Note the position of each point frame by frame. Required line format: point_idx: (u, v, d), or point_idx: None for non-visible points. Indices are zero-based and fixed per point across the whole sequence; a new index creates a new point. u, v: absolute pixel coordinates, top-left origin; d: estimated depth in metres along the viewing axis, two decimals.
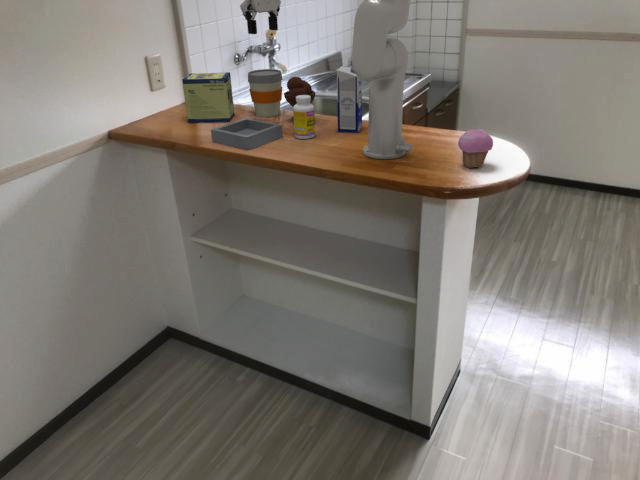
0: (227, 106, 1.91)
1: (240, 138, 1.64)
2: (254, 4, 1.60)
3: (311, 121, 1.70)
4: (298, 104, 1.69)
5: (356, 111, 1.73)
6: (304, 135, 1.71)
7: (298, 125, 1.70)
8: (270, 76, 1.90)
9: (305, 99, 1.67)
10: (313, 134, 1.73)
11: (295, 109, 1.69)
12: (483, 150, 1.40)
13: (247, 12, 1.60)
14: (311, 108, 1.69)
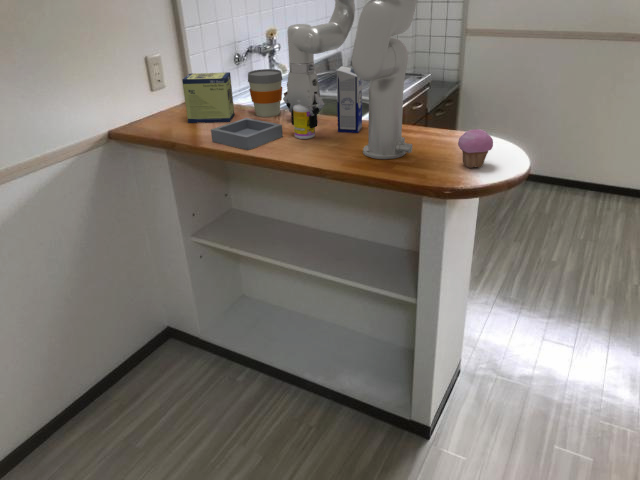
0: (227, 106, 1.91)
1: (240, 138, 1.64)
2: (319, 97, 1.67)
3: None
4: (298, 104, 1.69)
5: (356, 111, 1.73)
6: (304, 135, 1.71)
7: (298, 125, 1.70)
8: (270, 76, 1.90)
9: None
10: (313, 134, 1.73)
11: (295, 109, 1.69)
12: (483, 150, 1.40)
13: None
14: None
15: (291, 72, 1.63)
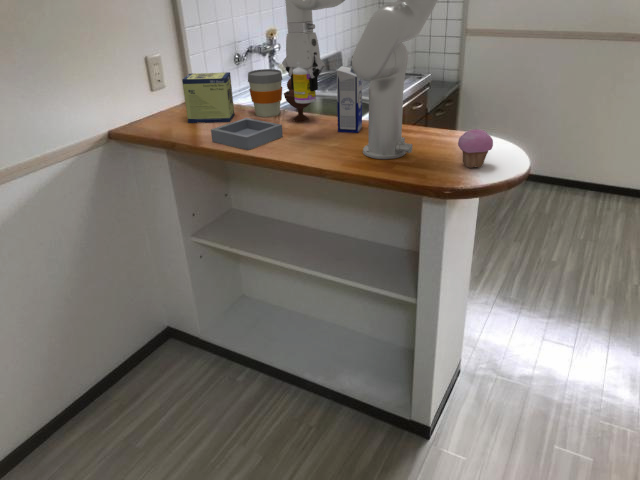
0: (227, 106, 1.91)
1: (240, 138, 1.64)
2: (319, 58, 1.62)
3: None
4: (297, 67, 1.63)
5: (356, 111, 1.73)
6: (305, 99, 1.65)
7: (298, 89, 1.65)
8: (270, 76, 1.90)
9: None
10: (314, 98, 1.67)
11: (294, 72, 1.63)
12: (483, 150, 1.40)
13: None
14: None
15: (289, 32, 1.58)
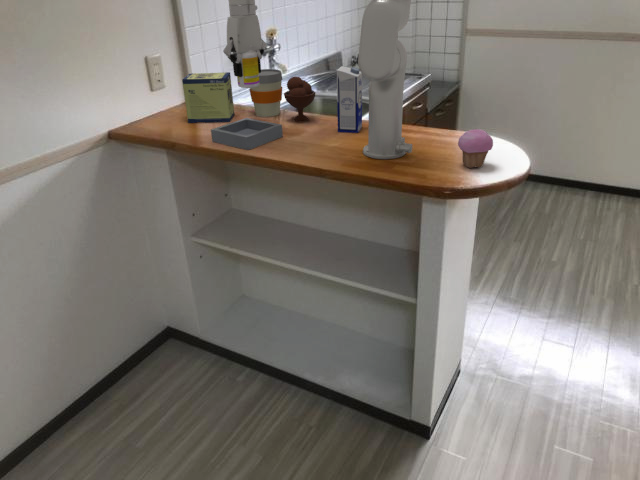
0: (227, 106, 1.91)
1: (240, 138, 1.64)
2: None
3: None
4: (249, 50, 1.60)
5: (356, 111, 1.73)
6: None
7: (255, 72, 1.63)
8: (270, 76, 1.90)
9: None
10: None
11: (250, 56, 1.60)
12: (483, 150, 1.40)
13: None
14: None
15: (247, 15, 1.54)
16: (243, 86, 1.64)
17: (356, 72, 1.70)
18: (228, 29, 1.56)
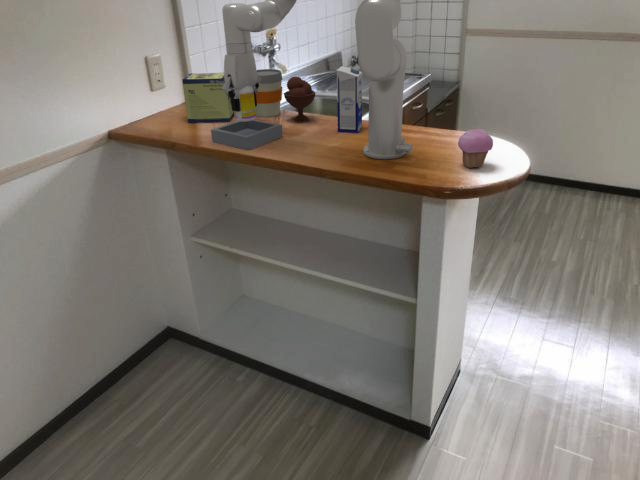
0: (227, 106, 1.91)
1: (240, 138, 1.64)
2: None
3: None
4: None
5: (356, 111, 1.73)
6: (255, 115, 1.71)
7: (252, 106, 1.68)
8: (270, 76, 1.90)
9: None
10: None
11: (248, 91, 1.65)
12: (483, 150, 1.40)
13: None
14: None
15: (244, 53, 1.59)
16: (241, 120, 1.68)
17: (356, 72, 1.70)
18: (226, 67, 1.61)
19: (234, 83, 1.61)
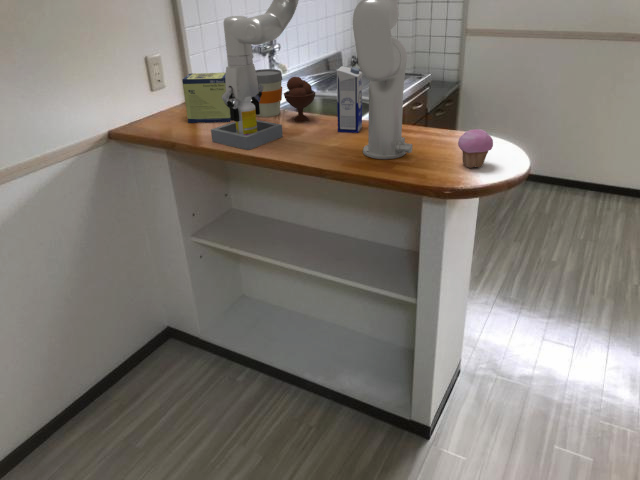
0: (227, 106, 1.91)
1: (240, 138, 1.64)
2: None
3: None
4: (248, 103, 1.67)
5: (356, 111, 1.73)
6: None
7: (254, 123, 1.70)
8: (270, 76, 1.90)
9: None
10: None
11: (249, 109, 1.67)
12: (483, 150, 1.40)
13: None
14: None
15: (245, 65, 1.60)
16: None
17: (356, 72, 1.70)
18: (227, 78, 1.62)
19: (235, 95, 1.63)
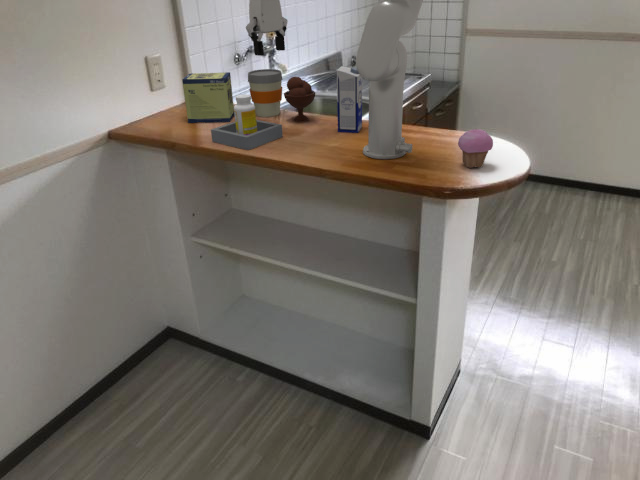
0: (227, 106, 1.91)
1: (240, 138, 1.64)
2: None
3: None
4: (247, 103, 1.67)
5: (356, 111, 1.73)
6: None
7: (254, 123, 1.70)
8: (270, 76, 1.90)
9: (250, 96, 1.68)
10: None
11: (249, 109, 1.67)
12: (483, 150, 1.40)
13: None
14: None
15: None
16: None
17: (356, 72, 1.70)
18: (251, 9, 1.54)
19: (260, 26, 1.55)
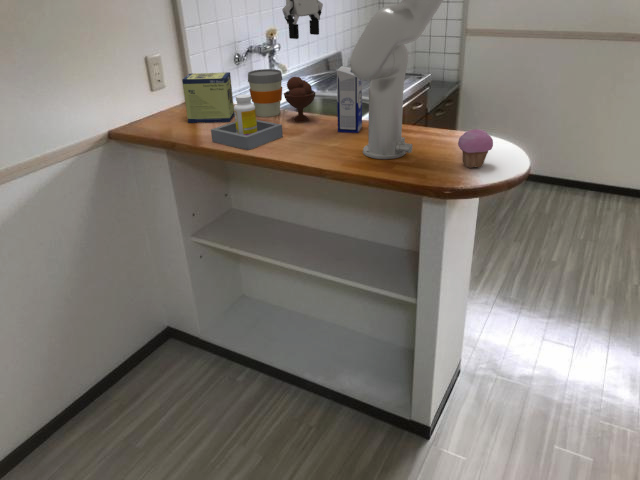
0: (227, 106, 1.91)
1: (240, 138, 1.64)
2: None
3: None
4: (248, 103, 1.67)
5: (356, 111, 1.73)
6: None
7: (254, 123, 1.70)
8: (270, 76, 1.90)
9: (250, 96, 1.68)
10: None
11: (249, 109, 1.67)
12: (483, 150, 1.40)
13: None
14: None
15: None
16: None
17: None
18: None
19: (297, 9, 1.54)
